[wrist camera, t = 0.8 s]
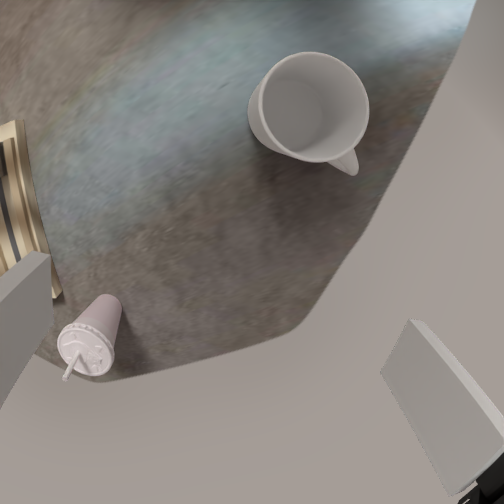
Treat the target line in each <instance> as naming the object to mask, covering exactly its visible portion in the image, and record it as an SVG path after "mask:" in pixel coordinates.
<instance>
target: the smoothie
mask: <svg viewBox="0 0 504 504" xmlns="http://www.w3.org/2000/svg"><path fill="white" fill-rule="evenodd" d="M121 313H122V306H121V303H120V302H119V300H118V299H117V298H116V297H114V296H112V295H110V294H102V295H100V296H99V297H97V298H96V299H95V300H94V301H93V303H92V304H91V305H90V306H89V307H88V308H87V309H86V310H85V311H84V312H83V313H82V314H81V315H80V316H79V317H78V318H77V319H76V320H75V321H74V322H73V323H72V324H69V325H67V326H66V327H64V328H63V330H62V331H61V334H60V335H59V337H58V341H57V345H58V350H59V353H60V355H61V356H62V358H63V359H64V361H65V362H66V363H67V364H68V367H67V369H66V371H65V373H64V375H63V377H62V379H63V380H64V381H67V380H68V378H69V376H70V374H71V372H72V370H73V369H74V370H76V371H78V372H80V373H82V374H85V375H89V376H99V375H103V374H105V373H106V372H107V371H108V370H109V369H110V367H111V365H112V364H113V361H114V355H115V353H114V350H113V349H114V344H115V339H116V335H117V330H118V326H119V322H120V318H121Z"/></svg>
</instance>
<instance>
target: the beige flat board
mask: <svg viewBox="0 0 504 504" xmlns="http://www.w3.org/2000/svg"><path fill="white" fill-rule="evenodd" d="M0 142H3V145H4V152H5V159H6V165H7V171H8V175H6V176H3V177H0V277H1V276H2V275H3V274H4V273H6V272H7V271H8V270H9V269H10V268H12V267H13V266H14V265H15V264H16V263H18V262H19V261H20V260H21V259H22V258H24V257H25V256H26V255H27V254H29V253H30V252H31V251H32V250H33V251H37V252H41V253H45V254H49V255H51V254H50V250H49V247H48V244H47V240H46V236H45V233H44V229H43V225H42V221H41V217H40V213H39V209H38V204H37V200H36V195H35V190H34V185H33V180H32V175H31V169H30V164H29V157H28V151H27V144H26V136H25V128H24V120H13V121H11V122H9V123H6V124H4V125H2V126H0ZM51 284H52V298H57V296H58V295H59V294H60V293H61V292H62V288H61V285H60V282H59V279H58V276H57V273H56V270H55V267H54V264H53V260H52V257H51Z"/></svg>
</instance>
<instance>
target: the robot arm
mask: <svg viewBox="0 0 504 504" xmlns="http://www.w3.org/2000/svg"><path fill="white" fill-rule="evenodd" d="M53 324H54V314H53V301H52V284H51V255H49V254H45V253H41V252H37V251H33V250H32V251H31V252H30V253H29V254H27V255H26V256H25V257H24V258H22V259H21V260H20V261H19V262H18V263H16V264H15V265H14V266H13V267H12V268H10V269H9V270H8V271H7V272H6V273H4V274H3V275H2V276H1V277H0V409H1V407H2V405H3V403H4V401H5V400H6V398H7V396H8V394H9V393H10V391H11V389H12V388H13V386H14V384H15V383H16V381H17V379H18V378H19V376H20V374H21V373H22V371H23V370H24V368H25V366H26V365H27V363H28V362H29V360H30V359H31V357H32V355H33V354H34V352H35V351H36V349H37V348H38V346H39V345H40V343H41V342H42V340H43V339H44V337H45V336H46V334H47V333H48V331H49V330H50V329H51V327H52V326H53ZM380 373H381V375H382V376H383V378H384V379H385V381H386V383H387V385H388V387H389V388H390V390H391V392H392V394H393V395H394V397H395V399H396V400H397V402H398V404H399V406H400V407H401V409H402V411H403V413H404V415H405V416H406V418H407V420H408V422H409V423H410V425H411V427H412V429H413V431H414V432H415V434H416V436H417V438H418V440H419V441H420V443H421V445H422V447H423V449H424V450H425V452H426V454H427V456H428V458H429V460H430V462H431V463H432V466H433V467H434V469H435V471H436V473H437V475H438V477H439V479H440V481H441V483H442V485H443V486H444V488H445V490H446V492H447V494H448V496H449V497H450V496H452V495H455V494H457V493H460V492H462V491H464V490H465V489H466V488H467V487H468V486H470V485H471V484H472V483H473V482H474V481H475V480H476V482H477V483H478V485H477V486H475V487H474V488H473V489H472V490H471V491H470V492H469V493H468V494H466V495H465V496H464V497H463V498H461V499H460V500H459V502H458V504H463V503H464V502H465V501H466V500H467V499H470V500H469V501H468V502H466V503H465V504H504V417H503V416H502V414H501V413H500V412H499V411H498V409H497V408H496V407H495V405H494V404H493V403H492V401H491V400H490V399H489V398H488V397H487V396H486V394H485V393H484V391H483V390H482V389H481V388H480V387H479V385H478V384H477V383H476V382H475V380H474V379H473V378H472V377H471V376H470V374H469V373H468V372H467V371H466V370H465V368H464V367H463V366H462V365H461V364H460V362H459V361H457V359H456V358H455V357H454V355H452V353H451V352H450V351H449V350H448V349H447V348H446V346H445V345H444V344H443V343H442V342H441V341H440V339H438V337H437V336H436V335H435V334H434V333H433V332H432V331H431V329H430V328H429V327H428V326H427V325H426V324H425V323H424V322H423V321H422V320H415V319H408V321H407V324H406V325H405V327H404V329H403V331H402V333H401V335H400V337H399V339H398V341H397V343H396V345H395V347H394V349H393V350H392V352H391V354H390V356H389V358H388V359H387V361H386V363H385V365H384V366H383V368H382V370H381V372H380Z"/></svg>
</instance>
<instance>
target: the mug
mask: <svg viewBox="0 0 504 504" xmlns="http://www.w3.org/2000/svg"><path fill="white" fill-rule="evenodd" d="M247 115H248V121H249V125H250V127H251V130H252V132H253V133H254V135H255V136H256V138H257V139H258V140H259V141H260V142H261V143H262V144H263V145H265V146H266V147H268V148H269V149H271V150H273V151H276V152H278V153H281V154H284V155H287V156H290V157H293V158H296V159H299V160H303V161H307V162H328V163H329V164H331V165H333V166H334V167H336V168H338V169H339V170H341V171H343V172H345V173H347V174H349V175H352V176H355V175H356V174H357V173H358V170H359V165H358V160H357V157H356V153H355V150H354V147H355V146H356V145H357V144H358V143H359V141H360V140H361V138H362V137H363V135H364V133H365V130H366V128H367V124H368V120H369V101H368V97H367V93H366V90H365V88H364V86H363V84H362V82H361V80H360V79H359V77H358V76H357V74H356V73H355V72H354V71H353V70H352V69H351V68H350V67H349V66H348V65H346V64H345V63H344V62H342V61H341V60H339V59H337V58H335V57H333V56H330V55H328V54H324V53H320V52H301V53H296V54H293V55H290V56H288V57H286V58H284V59H282V60H280V61H279V62H278V63H276V64H275V65H274V66H273V67H272V68H271V69H270V70H269V72H268V73H267V74H266V75H265V77H264V78H263V79H262V80H261V82H260V83H259V84H258V86H257V87H256V88H255V90H254V91H253V93H252V95H251V97H250V100H249V103H248V110H247Z"/></svg>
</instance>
